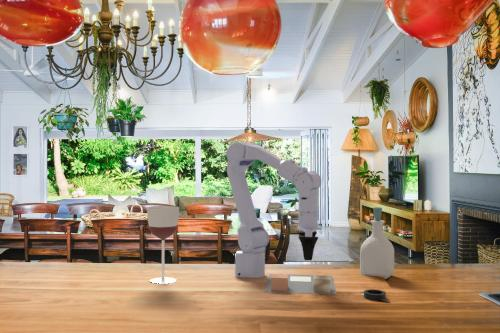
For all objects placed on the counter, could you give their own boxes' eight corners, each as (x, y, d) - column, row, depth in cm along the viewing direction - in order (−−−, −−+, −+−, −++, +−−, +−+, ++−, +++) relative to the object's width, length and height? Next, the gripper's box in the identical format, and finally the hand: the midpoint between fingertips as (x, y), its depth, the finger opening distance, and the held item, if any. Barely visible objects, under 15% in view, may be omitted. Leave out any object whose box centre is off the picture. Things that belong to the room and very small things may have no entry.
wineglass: (181, 282, 156) (181, 208, 156) (148, 285, 153) (148, 209, 152) (176, 276, 165) (176, 205, 164) (145, 278, 162) (145, 206, 161)
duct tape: (364, 308, 132) (364, 296, 132) (356, 297, 142) (357, 287, 142) (393, 308, 131) (394, 297, 131) (384, 297, 141) (384, 287, 141)
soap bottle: (395, 275, 168) (396, 206, 167) (387, 281, 159) (388, 209, 159) (367, 271, 173) (367, 205, 172) (358, 277, 164) (358, 207, 164)
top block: (313, 291, 142) (313, 279, 142) (313, 287, 146) (313, 275, 146) (330, 292, 141) (330, 279, 141) (329, 288, 146) (329, 275, 146)
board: (264, 296, 142) (264, 291, 142) (269, 277, 163) (269, 273, 163) (336, 298, 140) (336, 293, 140) (331, 279, 161) (331, 275, 161)
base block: (271, 290, 143) (271, 277, 143) (271, 286, 148) (272, 274, 148) (287, 290, 143) (287, 278, 143) (287, 286, 147) (287, 274, 147)
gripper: (323, 215, 143) (322, 262, 143) (320, 209, 158) (319, 253, 158) (298, 214, 144) (297, 262, 144) (297, 209, 158) (297, 252, 159)
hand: (307, 257), depth 151 cm, fingers open, 7 cm apart
